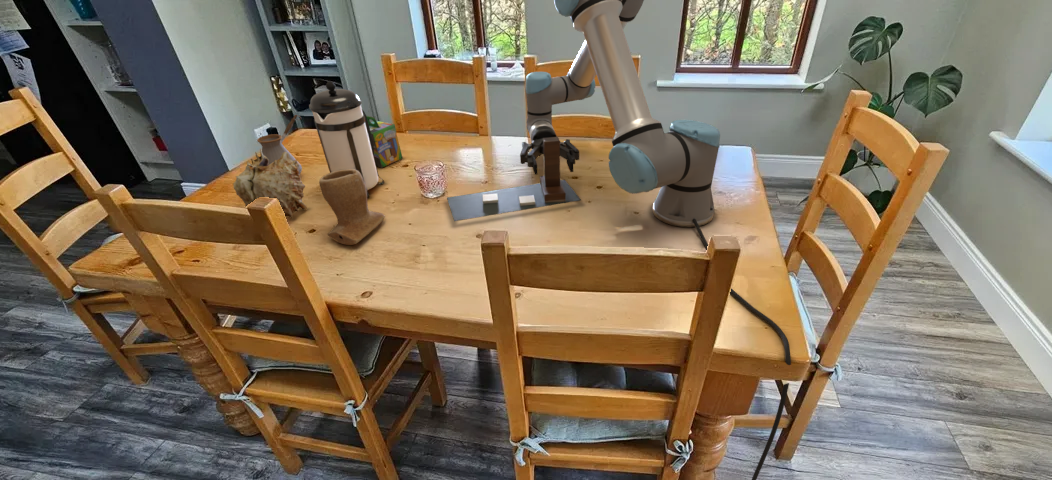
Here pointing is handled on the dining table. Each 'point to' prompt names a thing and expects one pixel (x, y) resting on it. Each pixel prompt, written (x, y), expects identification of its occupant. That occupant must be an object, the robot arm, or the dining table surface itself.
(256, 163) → the seashell
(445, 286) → the dining table surface
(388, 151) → the chalk box
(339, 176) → the clay platform pipe
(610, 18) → the robot arm
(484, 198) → the chalk patch
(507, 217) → the dining table surface
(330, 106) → the coffee press
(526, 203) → the chalk patch
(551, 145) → the brown upright slab stand
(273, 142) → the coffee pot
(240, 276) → the dining table surface
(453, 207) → the slate board
